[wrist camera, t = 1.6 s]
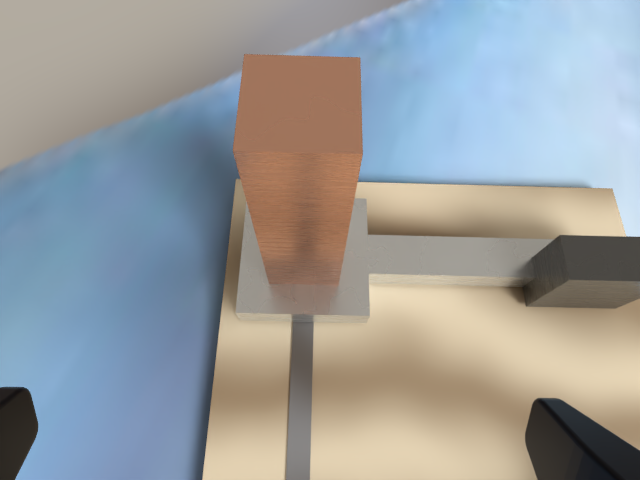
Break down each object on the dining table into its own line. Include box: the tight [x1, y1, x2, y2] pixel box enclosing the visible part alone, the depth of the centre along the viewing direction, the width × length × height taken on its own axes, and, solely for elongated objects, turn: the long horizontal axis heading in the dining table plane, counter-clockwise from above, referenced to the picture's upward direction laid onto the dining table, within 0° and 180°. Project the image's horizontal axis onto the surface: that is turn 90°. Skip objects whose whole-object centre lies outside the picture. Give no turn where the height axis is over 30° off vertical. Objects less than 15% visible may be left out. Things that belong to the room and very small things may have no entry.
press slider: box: [233, 54, 640, 323], centre depth 17 cm, size 6×18×12 cm, turn 89°
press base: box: [202, 179, 640, 480], centre depth 18 cm, size 23×21×6 cm
